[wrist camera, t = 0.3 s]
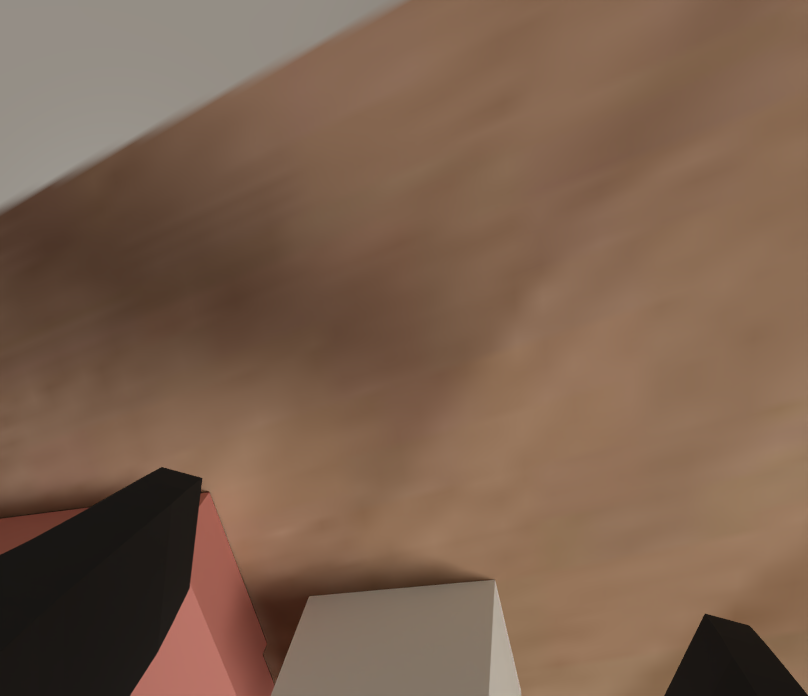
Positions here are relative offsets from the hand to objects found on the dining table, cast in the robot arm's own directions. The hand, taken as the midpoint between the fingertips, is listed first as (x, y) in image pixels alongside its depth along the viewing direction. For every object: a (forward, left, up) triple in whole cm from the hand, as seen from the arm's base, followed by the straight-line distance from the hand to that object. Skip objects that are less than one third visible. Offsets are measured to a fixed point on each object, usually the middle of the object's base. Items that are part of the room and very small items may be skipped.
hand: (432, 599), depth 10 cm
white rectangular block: (-10, +4, -10) cm, 15 cm away
